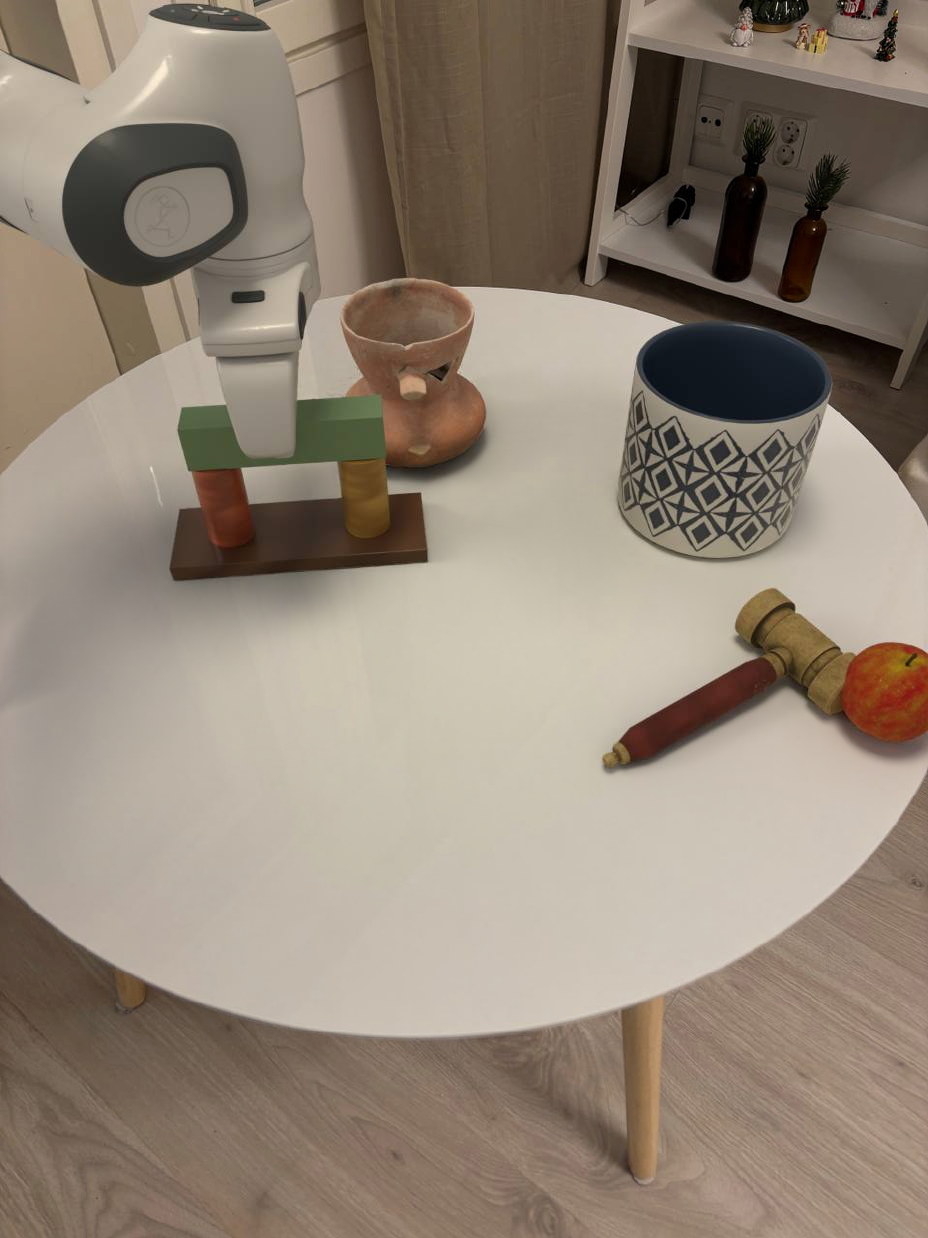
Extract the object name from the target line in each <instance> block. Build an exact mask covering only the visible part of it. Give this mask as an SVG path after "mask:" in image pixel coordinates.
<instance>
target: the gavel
mask: <svg viewBox="0 0 928 1238" xmlns="http://www.w3.org/2000/svg"><path fill="white" fill-rule="evenodd" d="M734 630H735V632H736V633H737V634H738V635H739V636H740V637H742V639H743V640H745V641H746V642H747V643H748V644H749V645H750V646H751V647H753V648H763V649H762V650H763V652H764V653H765V654H763V655H761V656H759V657H757V658H753V659H751V660H748V661H744V662H743V663H741V664H739V665H738V666H736V667H734V668H732V669H731V670H729V671H727V672H726V673H723V674H722V675H720V676H719V677H717V678H714V679H713V680H711V681H709V682H707V683H706V684H704V685H702V686H701V687H699V688H697V689H695V690H694V691H691V692H690V693H689V694H686V695H685V696H683V697H681V698H679V699H677V700H676V701H674V702H672V703H670V704H669V705H666V706H665V707H663V708H661V709H660V710H658V711H656V712H655V713H653V714H651V715H649V716H648V717H646V718H644V719H643V720H640V721H639V722H637V723H635V724H633V725H631V726H630V727H629V728H628V729H627V730H626V732H624V734H623V735H622V736H621V737H620V739H618V741H617V742H616V743H614V744H613V745H612V747H611V750H612V752H606V753H605V754H603V756H602V757H601V761H602V763H603V765H604V766H605V767H606V768H613V767H614V766H616V765H617V763H620V764H621V765H622V764H623V765H626V764H628V763H631V762H637V761H642V760H648V759H650V758H652V757H654V756H656V755H657V754H659V753H661V752H662V751H664V750H666V749H668V748H669V747H671V746H672V745H674V744H676V743H678V742H679V741H681V740H683V739H684V738H687V737H688V736H690V735H691V734H693V733H695V732H697V731H698V730H700V729H702V728H703V727H705V726H707V725H708V724H710V723H712V722H713V721H715V720H718V719H720V717H722V716H724V715H726V714H728V713H729V712H732V711H733V710H734V709H736V708H738V707H739V706H741V705H743V704H744V703H746V702H748V701H750V700H751V699H753V698H755V697H756V696H759V695H760V694H762V693H763V692H765V691H766V690H767V689H768V688H770V686H772V685H773V684H774V683H775V682H776V681H778V680H781V679H782V678H784V677H786V676H788V675H789V676H791V677H792V678H793V679H794V680H795V681H796V682H797V683H798V684H799V685H801V686H802V687H806V688H807V689H808V690H807V697H808V698H809V700H811V701H812V702H813V703H814V704H815V705H816V706H817V707H819V708H820V710H822V711H823V712H824V713H825V714H827V715H835V714H838V713H841V712H843V711H844V709H843V707H842V703H841V698H840V697H841V692H842V689H843V687H844V683H845V678H846V672H847V669H848V666H849V664H850V662H851V661H852V660H853V659H854V658H855V657H856V656H857V655H856V654H855V653H854V652H851V651H848V652H843V651H842V649H841V647H840V646H839V645H838V644H837V643H836V642H834V641H833V640H832V639H831V638H829V636H827V635H826V634H824V633H823V632H822V631H821V630H820V629H819V628H817V627H816V625H814V624H813V623H812V622H810V621H809V620H808V619H807V618H805V616H803V614H801V613H798V612H797V613H796V604H795V603H794V602H793V601H792V600H790V599H789V598H788V597H787V596H786V595H785V594H783V593H782V591H780V590H779V589H778V588H775V587H771V588H766V589H765V590H762V591H760V592H758V593H757V594H755V595H754V596H752V597H751V598H750V599H749V600H748V601H747V602H746V603H745V604H744V605H743V607H742V608H741V609H740V611H739V612H738V615H737V616H736V619H735V623H734Z"/></svg>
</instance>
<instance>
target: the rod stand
mask: <svg viewBox="0 0 928 1238" xmlns="http://www.w3.org/2000/svg"><path fill="white" fill-rule="evenodd" d="M336 462H337V470H338V478H339V486H340V494H341V497H333V498H332V497H331V498H319V499H316V498H315V499H303V500H289V501H275V502H262V503H261V502H260V503H250V502H249V496H248V493H247V492H248V491H247V488H246V484H245V479H244V474H243V469H242V468H232V469H217V470H202V471H190V473H191V477H192V480H193V483H194V488H195V491H196V495H197V498H198V503H199V505H200V506H199V507H187V508H179V509H178V510H179V511H178V516H177V522H176V528H175V533H174V539H173V545H172V549H171V550H172V551H171V557H170V562H169V572H170V576H171V578H172V581H173V582H174V581H186V580H202V579H214V578H226V577H242V576H253V575H255V576H256V575H267V574H280V573H294V572H295V573H296V572H297V573H298V572H309V571H322V570H334V569H335V570H336V569H337V570H338V569H349V568H351V569H352V568H361V567H362V568H363V567H376V566H377V567H378V566H389V565H403V564H416V563H428V562H429V556H428V554H429V553H428V543H427V535H426V525H425V515H424V508H423V507H424V506H423V499H422V492H419V491H417V492H405V493H390V494H389V487H388V473H387V465H386V462H385V458H380V459H365V460H350V461H336Z"/></svg>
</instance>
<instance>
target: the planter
mask: <svg viewBox="0 0 928 1238" xmlns="http://www.w3.org/2000/svg"><path fill="white" fill-rule="evenodd" d="M832 388H833V376H832V373H831V371H830V369H829V366H828V364H827V363H826V362H825V361H824V359H823V358H822V357H821V356H820V355H819V354H818V353H817V352H816V351H815V350H814V349H813V348H811V347H810V346H808V345H807V344H806V343H804V342H802V341H800V340H798V339H796V338H794V337H793V336H790V335H788V334H786V333H783V332H781V331H778V330H774V329H772V328H769V327H765V326H760V325H756V324H751V323H745V322H737V321H727V320H709V321H707V320H706V321H696V322H689V323H684V324H680V325H675V326H673V327H670V328H668V329H665V330H662V331H660V332H658V333H657V334H655V335H653V336H652V337H650V338H649V339H648V340H647V341H646V342H645V343H644V344H643V345H642V347H641V348H640V349H639V351H638V353H637V355H636V358H635V365H634V372H633V378H632V385H631V393H630V399H629V400H630V401H629V406H628V413H627V420H626V427H625V435H624V442H623V450H622V457H621V463H620V472H619V479H618V486H617V502H618V505H619V508H620V510H621V512H622V514H623V516H624V517H625V519H626V520H627V522H629V524H630V525H631V526H632V527H633V529H635V530H636V531H637V532H638V533H640V534H641V535H642V536H643V537H645V538H646V539H648V540H650V541H651V542H653V543H655V544H657V545H659V546H661V547H663V548H665V549H668V550H671V551H674V552H677V553H680V554H685V555H689V556H693V557H700V558H708V559H709V558H710V559H726V558H736V557H742V556H747V555H751V554H754V553H756V552H759V551H762V550H764V549H766V548H768V547H770V546H771V545H773V544H774V543H775V542H777V541H778V540H779V539H781V537H782V536H783V535H784V534H785V532H786V531H787V530H788V528H789V525H790V523H791V521H792V518H793V515H794V512H795V509H796V506H797V502H798V499H799V497H800V493H801V490H802V487H803V484H804V480H805V477H806V474H807V471H808V469H809V465H810V462H811V458H812V455H813V453H814V449H815V446H816V442H817V439H818V436H819V433H820V429H821V428H822V427H821V426H822V423H823V420H824V417H825V414H826V410H827V407H828V403H829V401H830V397H831V394H832Z"/></svg>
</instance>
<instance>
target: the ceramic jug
mask: <svg viewBox="0 0 928 1238" xmlns="http://www.w3.org/2000/svg"><path fill="white" fill-rule="evenodd" d="M339 318H340V319H339V320H340V325H341V326H340V327H341V330H342V333H343V337H344V340H345V342H346V345H347V347H348V350H349V352H350V354H351V356H352V358H353V361H354V363H355V365H356V366H357V369H358V370H359V372H360V374H361V375H362V376H363V377H361V378H359V379H358V380H357V381H355V383H353V384H352V386H351V387H350V388H349V389H348V391H347V392H346V393H345V395H344V397H355V396H371V395H381V396H382V408H383V420H384V432H385V446H386V458H385V462H386V466H393V467H398V468H422V467H423V468H424V467H430V466H434V465H438V464H441V463H444V462H447V461H449V460H452V459H454V458H456V457H458V456H459V455H461V454H463V453H464V452H465V451H467V450H468V449H469V448H470V447H471V446H472V445H474V443H475V442H476V441H477V440H478V438H479V437H480V435H481V434H482V431H483V429H484V426H485V424H486V419H487V418H486V417H487V408H486V403H485V400H484V397H483V396H482V394H481V392H480V391H479V389H478V388H477V387H476V385H474V384H473V383H472V382H471V381H470V380H469V379H468V378H466V377H464V376H463V375H462V374H460V373H458V372H459V369H460V367H461V364H462V362H463V359H464V357H465V354H466V351H467V349H468V347H469V343H470V340H471V336H472V332H473V327H474V324H475V323H474V322H475V306H474V305H473V303H472V301H471V300H470V298H468V297H467V296H466V295H465V294H464V292H462V291H460V290H458V289H457V288H455V287H454V286H453V287H452V286H450V285H449V284H446V283H443V282H440V281H438V280H434V279H426V278H420V279H419V278H416V277H402V278H392V279H388V280H385V281H380V282H373V283H371V284H369V285H367V286H364V287H363V288H361V289H359V290H357V291H355V292H353V294H351V295H350V296H349V298H348V299H346V300H345V301H344V303H343V304H342V305H341V309H340V313H339Z"/></svg>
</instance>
